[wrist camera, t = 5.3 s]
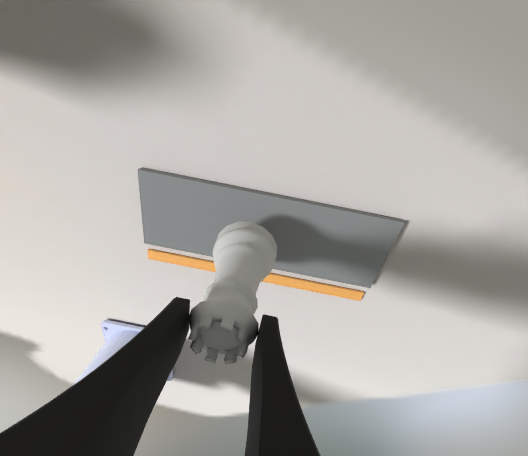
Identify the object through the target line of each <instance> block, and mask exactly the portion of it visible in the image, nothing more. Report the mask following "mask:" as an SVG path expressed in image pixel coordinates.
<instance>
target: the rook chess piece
mask: <svg viewBox="0 0 528 456" xmlns="http://www.w3.org/2000/svg"><path fill="white" fill-rule="evenodd" d="M276 257H277V245H276V242H275V240H274V238H273V236H272V235H271V234H270V233H269V232H268V231H267V230H266V229H265V228H264V227H262V226H260V225H257V224H255V223H252V222H236V223H233V224H230V225H227V226H226V227H225V228H224V229H223V230H222V231H221V232H220V233H219V234H218V237H217V240H216V242H215V245H214V248H213V260H214V264H215V269H216V274H215V278H214V283H213V284H212V285H210V286H209V287H208V288H207V289H206V291H205V294H204V301H203V302H200V303H199V304H198V305H197V306H195V307H194V308H193V309H192V310H191V312H190V315H189V318H188V320H189V325H190V329H191V333H190V336H189V338H188V339H190V340H193V341H192V343H191V346H190V347H191V349H192V350H193V351H194V352H195V354H197V353H200V352H201V350H202V347H204V348H205V349H207V350H208V351H207V354H206V357H205V360H207V361H210V362H213V363H215V362H216V358H217V355H218V354H225V358H224V361H225V363H226V364H229V363H235V362H236V359H237V354H238V356H240V357H242V358H243V357H244V356H245V354H246V352H247V349H248V345H250V344H251V343H252V342H254V340H255V338H256V337H257V335H258V333H259V332H258V322H257V321H256V319H255V317H254V315H253V314H254V313H255V311H256V309H257V298H256V296H255V295H256V291H257V289H258V286H259V283H260V282H261V281H263V280H264V278H265V277H267V276H268V275H269V274H270V272H271V270H272V268H273V266H274V265H275V259H276Z"/></svg>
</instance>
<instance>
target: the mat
mask: <svg viewBox="0 0 528 456" xmlns="http://www.w3.org/2000/svg"><path fill="white" fill-rule="evenodd" d="M138 179H139V190H140V200H141V211H142V222H143V233H144V243H146V244H151V245H156V246H161V247H166V248H171V249H176V250H181V251H186V252H191V253H196V254H201V255H207V256H212V257H213V248H214V245H215V242H216V240H217V237H218V234H219V233H220V232H221V231H222V230H223V229H224V228H225V227H226V226H227V225H230V224H233V223H236V222H252V223H255V224H257V225H260V226H262V227H264V228H265V229H266V230H267V231H268V232H269V233H270V234H271V235H272V236H273V238H274V240H275V242H276V245H277V257H276V259H275V265H274V266H273V268H272V269H277V270H282V271H287V272H292V273H297V274H302V275H307V276H312V277H317V278H322V279H327V280H332V281H337V282H342V283H347V284H352V285H357V286H362V287H367V288H370V287H371V285H372V283H373V282H374V280H375V278H376V276H377V274H378V272H379V270H380V269H381V267H382V265H383V263H384V261H385V259H386V257H387V255H388V254H389V252H390V250H391V248H392V246H393V244H394V242H395V240H396V239H397V237H398V235H399V233H400V231H401V229H402V227H403V225H404V224H405V222H404V221H403V220H402V219H397V218H392V217H387V216H382V215H377V214H372V213H367V212H362V211H357V210H352V209H347V208H342V207H337V206H332V205H327V204H322V203H317V202H312V201H307V200H302V199H297V198H292V197H287V196H282V195H277V194H272V193H267V192H262V191H257V190H252V189H247V188H242V187H237V186H232V185H227V184H222V183H217V182H212V181H207V180H202V179H197V178H192V177H187V176H182V175H177V174H172V173H167V172H162V171H157V170H152V169H147V168H140V169H138Z"/></svg>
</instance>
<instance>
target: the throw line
mask: <svg viewBox="0 0 528 456" xmlns="http://www.w3.org/2000/svg"><path fill="white" fill-rule="evenodd" d="M148 259H152V260H157V261H162V262H167V263H172V264H177V265H182V266H187V267H192V268H197V269H202V270H207V271H212V272H216V269H215V264H214V262H213V261H208V260H203V259H198V258H193V257H188V256H183V255H178V254H173V253H168V252H163V251H158V250H153V249H148ZM263 282H268V283H273V284H278V285H283V286H288V287H293V288H298V289H303V290H308V291H313V292H318V293H323V294H328V295H333V296H338V297H343V298H348V299H353V300H358V301H360V300H361V298H362V297H363V295H364V291H359V290H354V289H348V288H343V287H338V286H333V285H328V284H323V283H318V282H313V281H308V280H303V279H298V278H293V277H288V276H283V275H278V274H273V273H270V274H269V275H268V276H267V277H265V278H264V280H263Z"/></svg>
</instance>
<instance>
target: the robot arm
mask: <svg viewBox="0 0 528 456" xmlns="http://www.w3.org/2000/svg"><path fill="white" fill-rule="evenodd" d="M189 310H190V300H188V299H183V298H178V297H176V298H174V299H173V300H172V301H171V302H170V303H169V304H168V305H167V306H166V307H165V308H164V309H163V310H162V311H161V312H160V313H159V314H158V315H157V316H156V317H155V318H154V319H153V320H152V321H151V322H150V323H149V324H148V325H147V326H146V327H140V326H135V325H130V324H125V323H120V322H115V321H110V320H104V321H103V322H102V323H101V326H102V330H103V334H104V338H105V342H106V343H105V344H104V345H103V347H102V348H101V349H100V350H99V352H98V353H97V354H96V356H95V357H94V358H93V360H92V361H91V362H90V363H89V365H88V366H87V367H86V369H85V370H84V371H83V373H82V374H81V375H80V376H79V378H78V379H77V380H76V382H75V383H74V384H73V385H72V386H71V387H70V388H69V389H67V390H66V391H64V392H63V393H61V394H60V395H59V396H57V397H56V398H54V399H53V400H51V401H50V402H48V403H47V404H45V405H44V406H42V407H41V408H39V409H38V410H36V411H35V412H33V413H32V414H30V415H28V416H27V417H26V418H24V419H22V420H21V421H19V422H17V423H16V424H14V425H13V426H11V427H9V428H8V429H6V430H5V431H3V432H2V433H0V456H133V455H134V453H135V450H136V448H137V445H138V442H139V440H140V438H141V435H142V433H143V430H144V428H145V425H146V423H147V421H148V418H149V416H150V414H151V412H152V409H153V407H154V405H155V403H156V401H157V399H158V397H159V395H160V393H161V391H162V389H163V387H164V385H165V383H166V381H171V380H172V378H173V367H174V365H175V363H176V361H177V359H178V356H179V354H180V352H181V350H182V347H183V344H184V342H185V339H186V336H187V333H188V331H189V320H188V318H189ZM245 456H320V454H319V452H318V449H317V447H316V445H315V443H314V440H313V438H312V435H311V433H310V430H309V428H308V425H307V423H306V420H305V417H304V415H303V412H302V409H301V407H300V404H299V401H298V398H297V395H296V392H295V389H294V386H293V383H292V380H291V376H290V373H289V369H288V366H287V362H286V358H285V355H284V351H283V346H282V342H281V337H280V331H279V324H278V319H277V317H273V316H268V315H263V316H262V320H261V324H260V328H259V333H258V336H257V340H256V345H255V351H254V358H253V364H252V375H251V390H250V405H249V421H248V433H247V442H246V450H245Z"/></svg>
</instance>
